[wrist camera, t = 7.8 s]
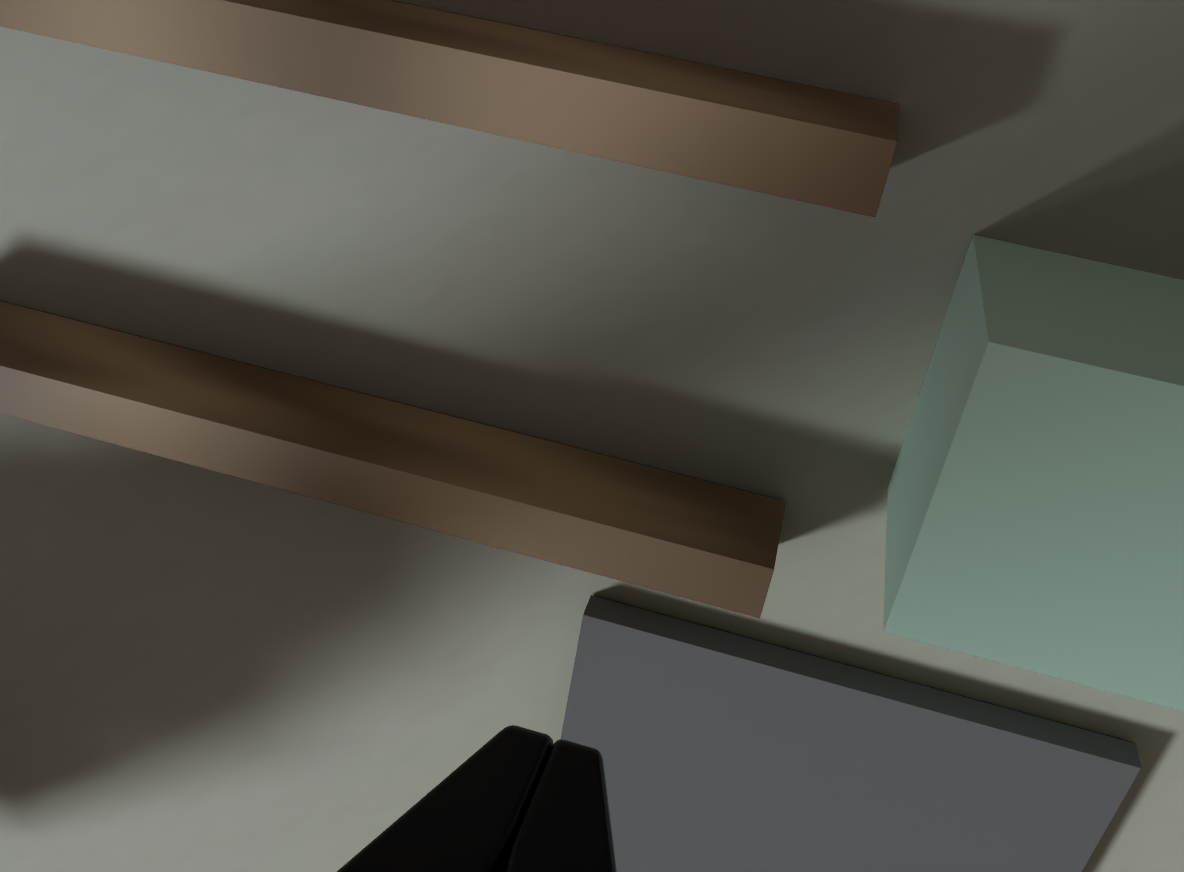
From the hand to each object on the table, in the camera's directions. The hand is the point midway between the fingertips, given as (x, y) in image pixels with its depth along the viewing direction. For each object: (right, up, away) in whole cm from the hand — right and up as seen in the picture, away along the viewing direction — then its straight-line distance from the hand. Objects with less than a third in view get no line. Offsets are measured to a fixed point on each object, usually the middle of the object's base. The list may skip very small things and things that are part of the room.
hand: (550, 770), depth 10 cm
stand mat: (+4, -6, +13) cm, 15 cm away
